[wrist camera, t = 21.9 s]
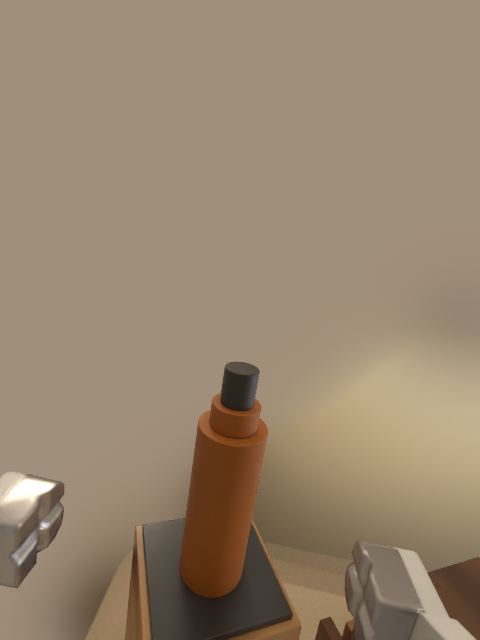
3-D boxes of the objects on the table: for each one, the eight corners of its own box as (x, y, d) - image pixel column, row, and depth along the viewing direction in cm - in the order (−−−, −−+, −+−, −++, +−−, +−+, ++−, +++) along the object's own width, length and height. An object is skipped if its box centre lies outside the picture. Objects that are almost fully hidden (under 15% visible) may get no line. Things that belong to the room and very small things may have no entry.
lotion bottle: (185, 606, 21) (217, 384, 18) (174, 543, 25) (198, 354, 22) (251, 589, 23) (291, 383, 19) (230, 533, 27) (261, 355, 24)
